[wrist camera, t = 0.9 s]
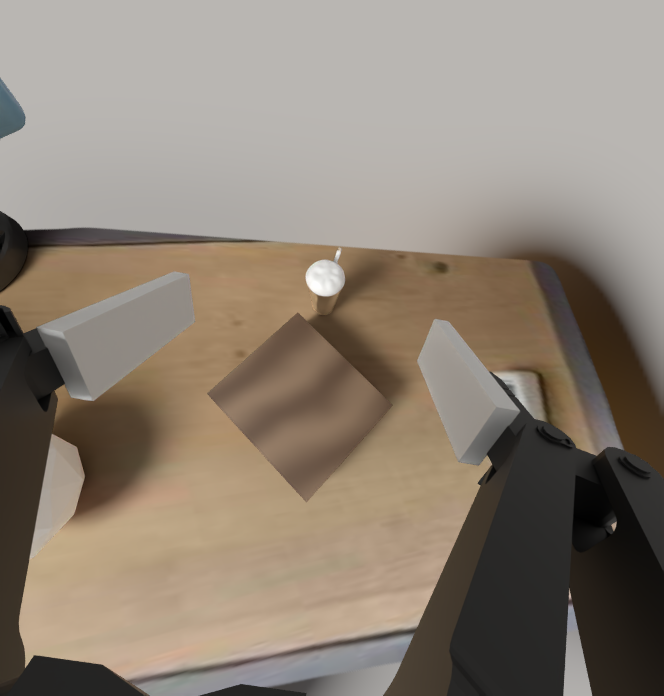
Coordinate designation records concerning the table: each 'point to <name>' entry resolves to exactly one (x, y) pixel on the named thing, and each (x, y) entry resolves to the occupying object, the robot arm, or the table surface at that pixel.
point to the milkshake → (325, 284)
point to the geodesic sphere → (57, 492)
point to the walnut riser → (300, 404)
